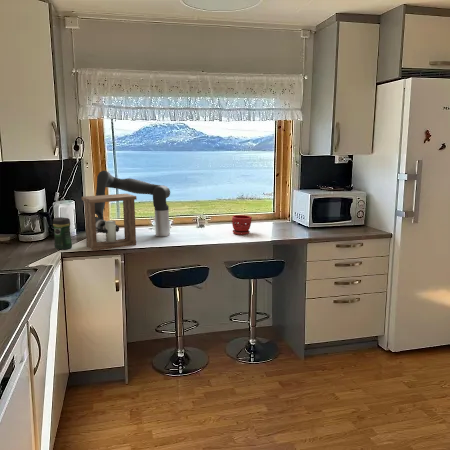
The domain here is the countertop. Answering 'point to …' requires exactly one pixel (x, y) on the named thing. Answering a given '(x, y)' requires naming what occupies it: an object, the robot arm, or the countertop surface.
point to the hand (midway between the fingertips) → (112, 230)
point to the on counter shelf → (128, 221)
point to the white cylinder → (110, 231)
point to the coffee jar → (62, 233)
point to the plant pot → (241, 224)
